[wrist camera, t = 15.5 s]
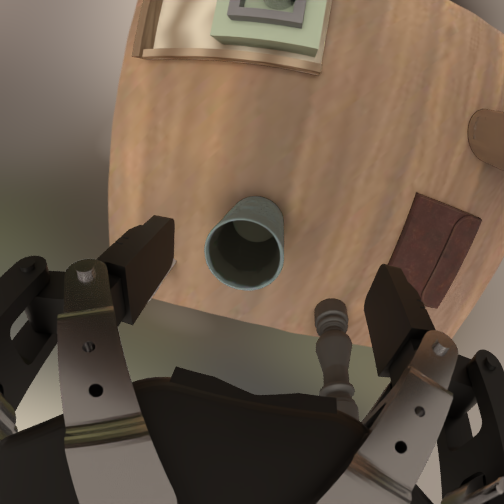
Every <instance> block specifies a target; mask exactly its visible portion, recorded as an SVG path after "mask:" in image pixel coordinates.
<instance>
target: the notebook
mask: <svg viewBox="0 0 504 504" xmlns="http://www.w3.org/2000/svg"><path fill="white" fill-rule="evenodd" d="M481 221H482V220H481V219H480V218H479V217H478V218H477V217H476V216H473V215H471V214H469V213H466V212H464V211H462V210H459V209H457V208H454V207H452V206H450V205H447V204H445V203H442V202H440V201H437V200H434V199H432V198H429V197H426V196H424V195H421V194H419V193H416V195H415V198H414V201H413V204H412V207H411V209H410V212H409V215H408V217H407V220H406V223H405V225H404V228H403V230H402V233H401V235H400V238H399V240H398V243H397V245H396V247H395V250H394V252H393V254H392V257H391V259H390V261H389V263H388V265H390V266H394V267H399V268H401V269H402V271H403V273H404V275H405V277H406V279H407V281H408V282H409V283H410V284H411V285H412V286H413V287H414V288H415V289H416V290H417V292H418V294H419V296H420V298H421V300H422V301H421V302H423V304H424V305H425V306H427V307H431V308H438V306H439V305H440V303H441V301H442V300H443V298H444V296H445V295H446V293H447V291H448V289H449V288H450V286H451V284H452V282H453V280H454V278H455V277H456V275H457V273H458V271H459V269H460V267H461V265H462V263H463V261H464V259H465V257H466V255H467V253H468V251H469V249H470V247H471V244H472V242H473V240H474V238H475V235H476V233H477V231H478V229H479V226H480V224H481Z"/></svg>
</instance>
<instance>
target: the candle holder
mask: <svg viewBox="0 0 504 504" xmlns="http://www.w3.org/2000/svg"><path fill="white" fill-rule="evenodd" d="M315 326H316V328H317V333H318V335H319V336H320V338H319V339H318V341H317V343H316V353H317V356H318V359H319V362H320V364H321V368H322V371H323V376H324V386H323V387H322V389H321V390H320V393H319V396H324V397H333V398H336V400H337V410H339V411H342V412H344V413H346V414H349V415H350V416H352V417H354V418H355V419H357V420H358V421H359V414H358V407H357V405H356V404H355V401H354V400H353V399H352V396H353V395H354V392H355V390H354V387H353V385H352V384H350V383H349V374H348V367H349V361H350V355H351V349H352V342H351V340H350V338H349V336H348V335H347V334H346V331H347V328H348V315H347V309H346V306H345V304H344V303H343V302H342V301H341V300H338V299H326V300H323V301H321V302H320V303H319V304H317V306H316V308H315Z"/></svg>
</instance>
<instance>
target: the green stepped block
mask: <svg viewBox="0 0 504 504" xmlns="http://www.w3.org/2000/svg"><path fill="white" fill-rule="evenodd" d="M326 2H327V0H295V3H294V4H293V5H292V6H291V7H289V8H287V9H283V10H276V9H272V8H270V7H268V6H267V5H266V4H265V3H264V2H263V0H217V3H216V8H215V13H214V18H213V22H212V27H211V33H210V36H212V37H213V38H214V39H216V40H217V41H218V42H220V43H221V44H226V45H239V46H249V47H258V48H266V49H273V50H280V51H286V52H291V53H297V54H302V55H307V56H312V57H315V56H316V54H317V51H318V49H319V43H320V37H321V32H322V26H323V20H324V14H325V8H326Z"/></svg>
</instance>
